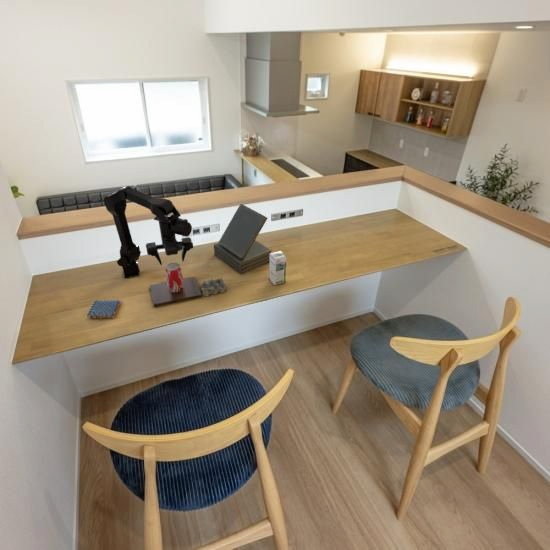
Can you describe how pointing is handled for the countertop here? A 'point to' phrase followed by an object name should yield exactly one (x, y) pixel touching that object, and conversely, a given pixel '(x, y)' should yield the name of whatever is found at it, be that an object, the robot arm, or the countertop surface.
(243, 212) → the dark grey display stand
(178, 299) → the cutting board
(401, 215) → the countertop surface
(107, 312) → the woven mat
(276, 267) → the milk carton
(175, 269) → the soda can
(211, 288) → the grey lumpy block
